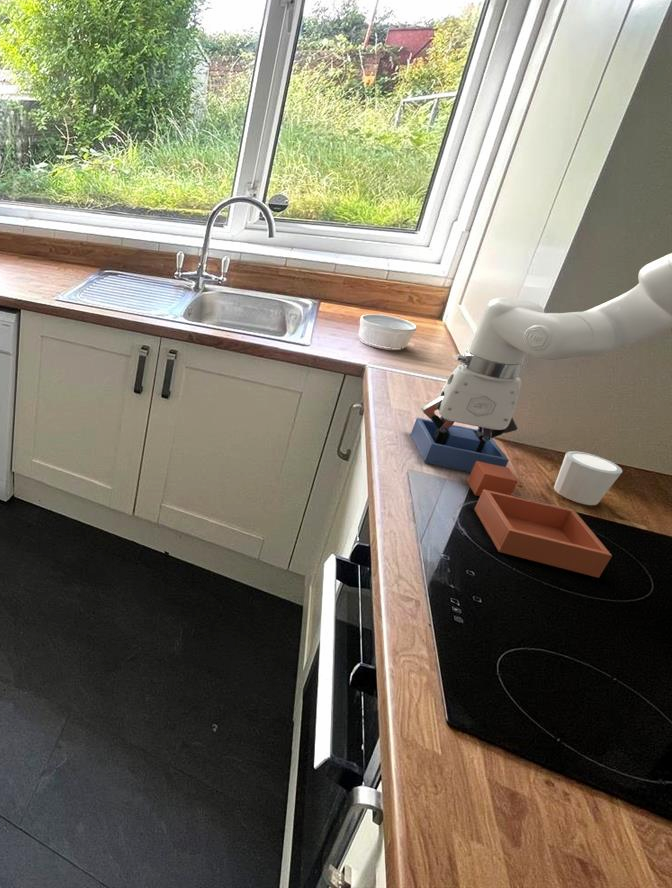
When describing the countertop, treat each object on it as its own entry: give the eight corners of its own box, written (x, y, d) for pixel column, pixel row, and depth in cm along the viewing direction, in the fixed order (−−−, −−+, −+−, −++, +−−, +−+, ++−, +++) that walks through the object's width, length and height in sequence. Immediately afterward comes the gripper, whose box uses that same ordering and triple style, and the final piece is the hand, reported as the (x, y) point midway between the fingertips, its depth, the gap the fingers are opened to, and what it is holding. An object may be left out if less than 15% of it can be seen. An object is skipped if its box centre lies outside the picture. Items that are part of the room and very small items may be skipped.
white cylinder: (539, 486, 104) (556, 453, 101) (564, 480, 106) (581, 448, 103) (587, 510, 98) (607, 475, 95) (613, 503, 100) (632, 469, 97)
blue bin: (500, 479, 106) (509, 460, 104) (424, 462, 110) (431, 443, 109) (479, 449, 115) (487, 431, 114) (410, 434, 120) (416, 417, 118)
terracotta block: (507, 503, 99) (518, 481, 97) (474, 495, 101) (484, 473, 99) (498, 488, 103) (508, 467, 101) (466, 481, 105) (476, 460, 103)
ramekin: (348, 342, 169) (355, 319, 166) (361, 332, 177) (368, 310, 174) (402, 356, 160) (410, 332, 157) (413, 345, 168) (422, 322, 166)
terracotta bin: (599, 578, 83) (612, 555, 82) (498, 552, 88) (509, 530, 86) (562, 530, 93) (574, 509, 91) (473, 509, 97) (483, 489, 96)
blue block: (471, 461, 110) (480, 441, 108) (442, 455, 112) (450, 435, 110) (463, 450, 114) (472, 430, 112) (435, 444, 115) (443, 424, 114)
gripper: (439, 363, 105) (405, 449, 112) (560, 383, 99) (516, 473, 106) (428, 349, 112) (397, 431, 119) (542, 367, 105) (501, 453, 112)
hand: (454, 450), depth 112 cm, fingers closed on blue block, 4 cm apart
